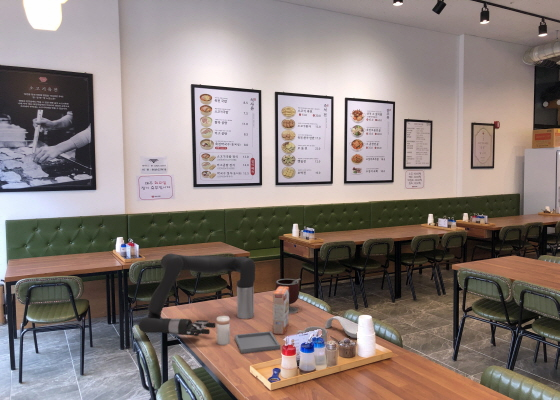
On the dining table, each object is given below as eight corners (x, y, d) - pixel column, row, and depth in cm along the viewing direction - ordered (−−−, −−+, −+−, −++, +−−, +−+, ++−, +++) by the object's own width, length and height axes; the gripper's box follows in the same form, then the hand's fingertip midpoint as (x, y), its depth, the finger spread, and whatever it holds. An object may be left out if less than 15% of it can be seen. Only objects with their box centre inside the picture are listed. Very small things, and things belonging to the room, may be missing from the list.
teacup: (329, 344, 208) (329, 327, 207) (324, 353, 198) (324, 336, 197) (300, 340, 212) (300, 324, 212) (294, 349, 202) (294, 332, 202)
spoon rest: (372, 336, 218) (373, 322, 218) (359, 343, 210) (359, 328, 209) (333, 324, 234) (333, 311, 234) (320, 330, 226) (320, 317, 225)
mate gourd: (270, 311, 255) (270, 277, 254) (283, 305, 267) (283, 272, 266) (294, 316, 247) (294, 281, 246) (306, 309, 259) (306, 276, 257)
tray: (234, 338, 215) (234, 334, 215) (270, 335, 219) (270, 331, 219) (241, 353, 197) (241, 349, 197) (280, 349, 202) (280, 345, 202)
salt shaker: (216, 340, 212) (215, 316, 212) (228, 339, 214) (228, 315, 213) (217, 345, 206) (217, 320, 206) (230, 344, 208) (230, 319, 207)
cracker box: (284, 335, 219) (284, 293, 218) (272, 334, 221) (272, 293, 219) (289, 325, 233) (289, 286, 232) (278, 324, 234) (278, 285, 233)
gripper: (174, 324, 206) (207, 326, 204) (185, 314, 220) (217, 315, 218) (174, 339, 207) (207, 342, 204) (186, 328, 221) (217, 330, 218)
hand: (212, 328), depth 211 cm, fingers open, 8 cm apart
